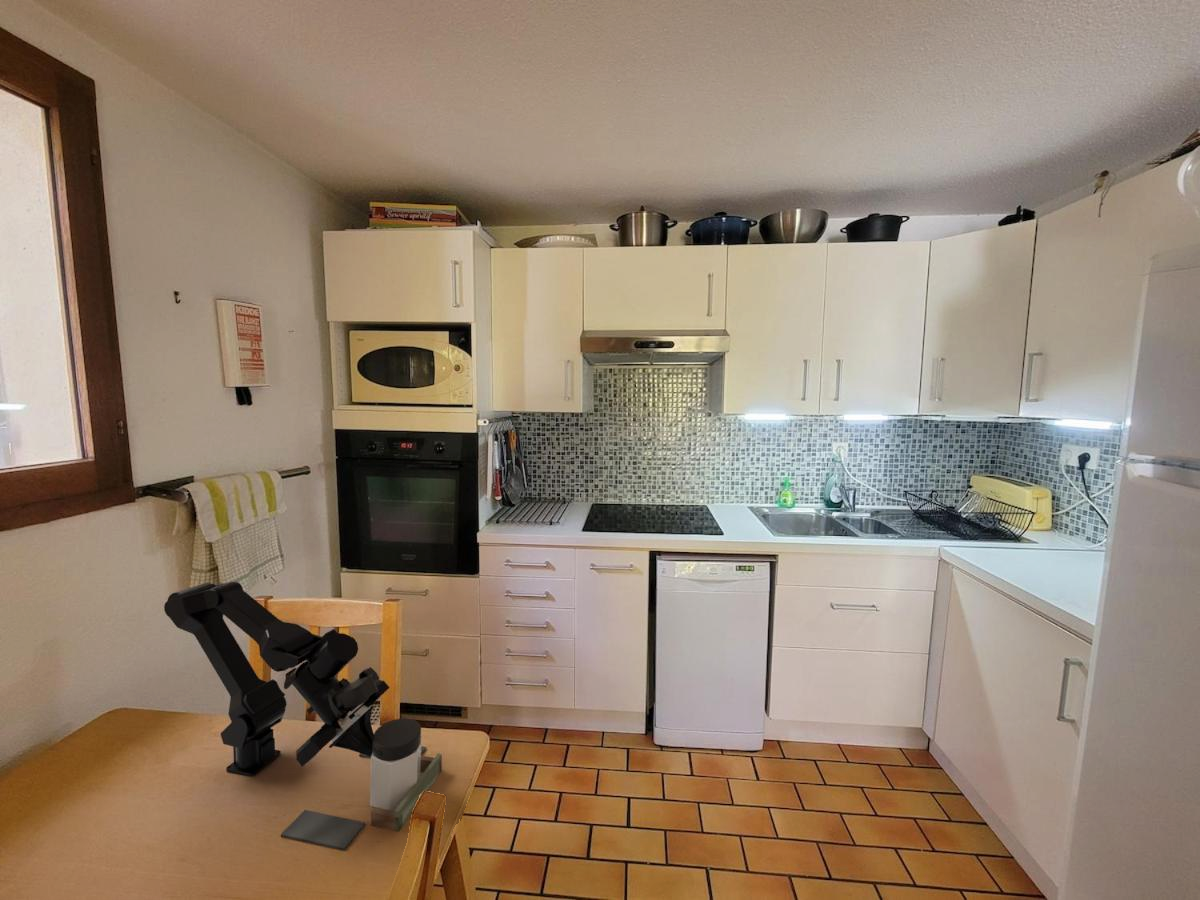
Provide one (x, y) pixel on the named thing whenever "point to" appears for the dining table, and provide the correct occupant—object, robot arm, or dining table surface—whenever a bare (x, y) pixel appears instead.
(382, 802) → the jar
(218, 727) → the dining table surface
